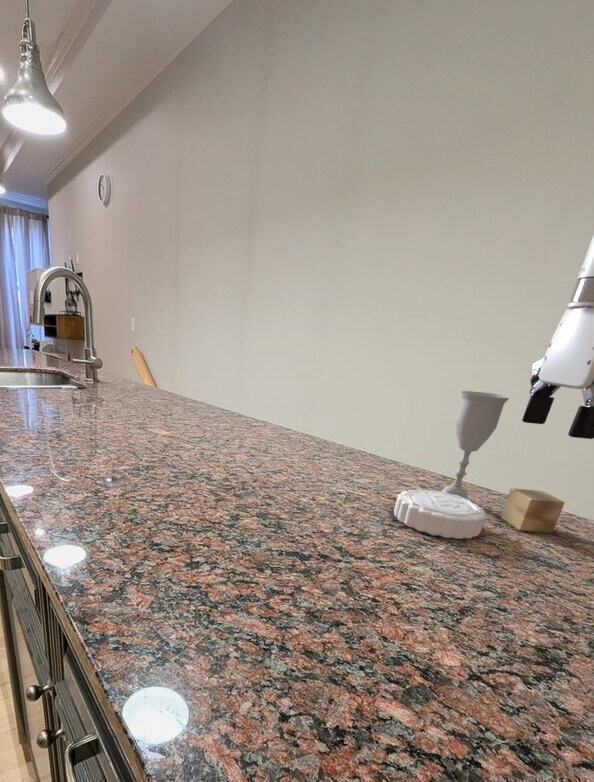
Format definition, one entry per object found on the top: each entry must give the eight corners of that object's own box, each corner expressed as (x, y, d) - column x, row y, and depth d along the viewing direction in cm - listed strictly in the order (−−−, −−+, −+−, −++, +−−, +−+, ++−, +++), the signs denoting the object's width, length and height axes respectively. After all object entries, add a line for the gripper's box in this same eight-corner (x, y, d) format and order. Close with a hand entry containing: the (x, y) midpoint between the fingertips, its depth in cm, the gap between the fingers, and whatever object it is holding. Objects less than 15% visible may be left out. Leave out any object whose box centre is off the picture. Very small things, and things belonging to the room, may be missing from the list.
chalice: (442, 490, 82) (472, 390, 76) (481, 502, 78) (516, 397, 71) (423, 497, 78) (453, 391, 71) (463, 510, 73) (499, 398, 66)
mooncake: (493, 545, 61) (501, 521, 59) (401, 532, 63) (407, 508, 61) (464, 513, 72) (471, 492, 70) (387, 502, 73) (392, 482, 72)
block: (531, 520, 71) (542, 490, 69) (552, 533, 67) (565, 502, 65) (500, 517, 71) (510, 488, 69) (519, 530, 67) (531, 499, 65)
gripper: (703, 295, 49) (632, 447, 56) (584, 303, 65) (540, 420, 72) (636, 289, 49) (573, 441, 55) (534, 298, 65) (494, 416, 71)
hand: (555, 429), depth 64 cm, fingers open, 9 cm apart
